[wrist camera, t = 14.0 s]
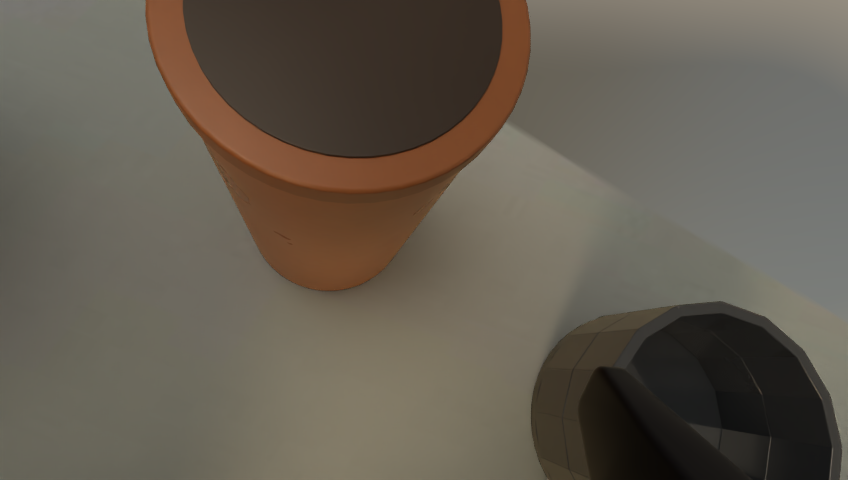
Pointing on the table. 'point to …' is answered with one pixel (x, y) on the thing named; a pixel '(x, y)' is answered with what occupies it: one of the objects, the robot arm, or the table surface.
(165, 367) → the table surface
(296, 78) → the orange cylindrical vase
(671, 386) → the enamel pot
